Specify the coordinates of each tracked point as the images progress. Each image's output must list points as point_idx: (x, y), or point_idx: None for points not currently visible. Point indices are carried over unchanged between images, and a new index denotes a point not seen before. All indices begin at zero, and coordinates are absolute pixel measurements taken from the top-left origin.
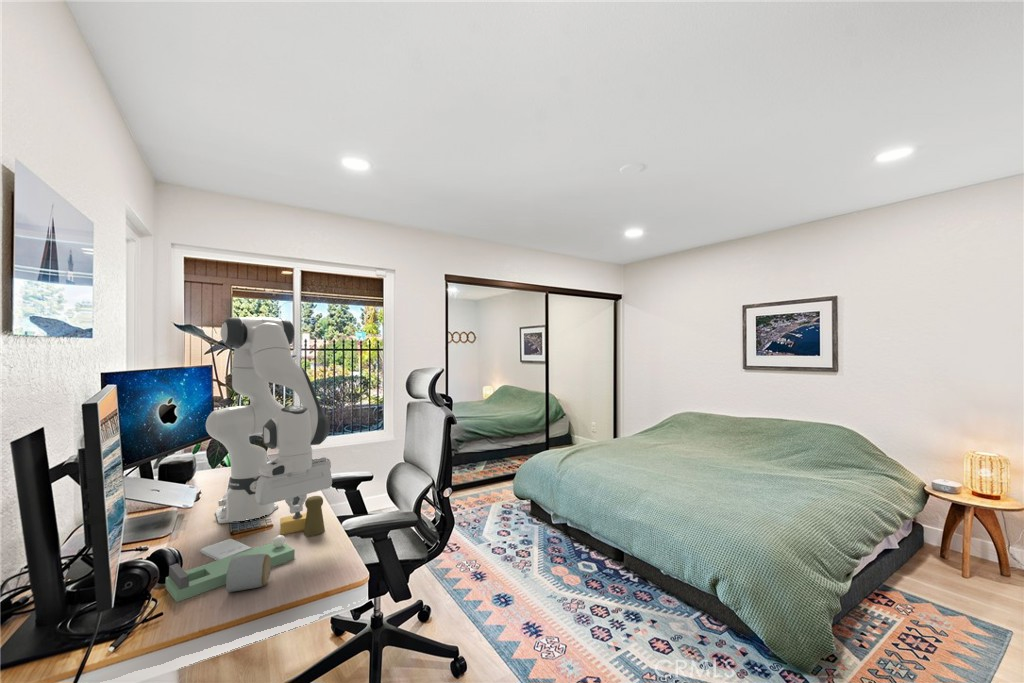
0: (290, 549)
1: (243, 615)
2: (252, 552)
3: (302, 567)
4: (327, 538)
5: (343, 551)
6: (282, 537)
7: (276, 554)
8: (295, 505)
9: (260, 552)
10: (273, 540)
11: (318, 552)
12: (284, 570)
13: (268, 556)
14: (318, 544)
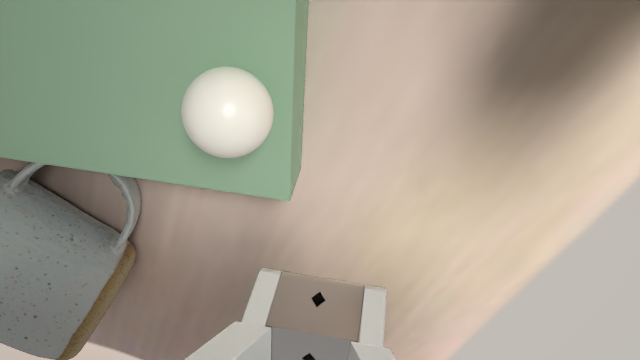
0: (274, 184)
1: None
2: (80, 8)
3: (280, 263)
4: (613, 95)
5: (485, 296)
6: (233, 156)
7: (192, 172)
8: (307, 349)
9: (125, 59)
10: (181, 115)
11: (417, 211)
12: (216, 224)
13: (78, 349)
14: (500, 126)
